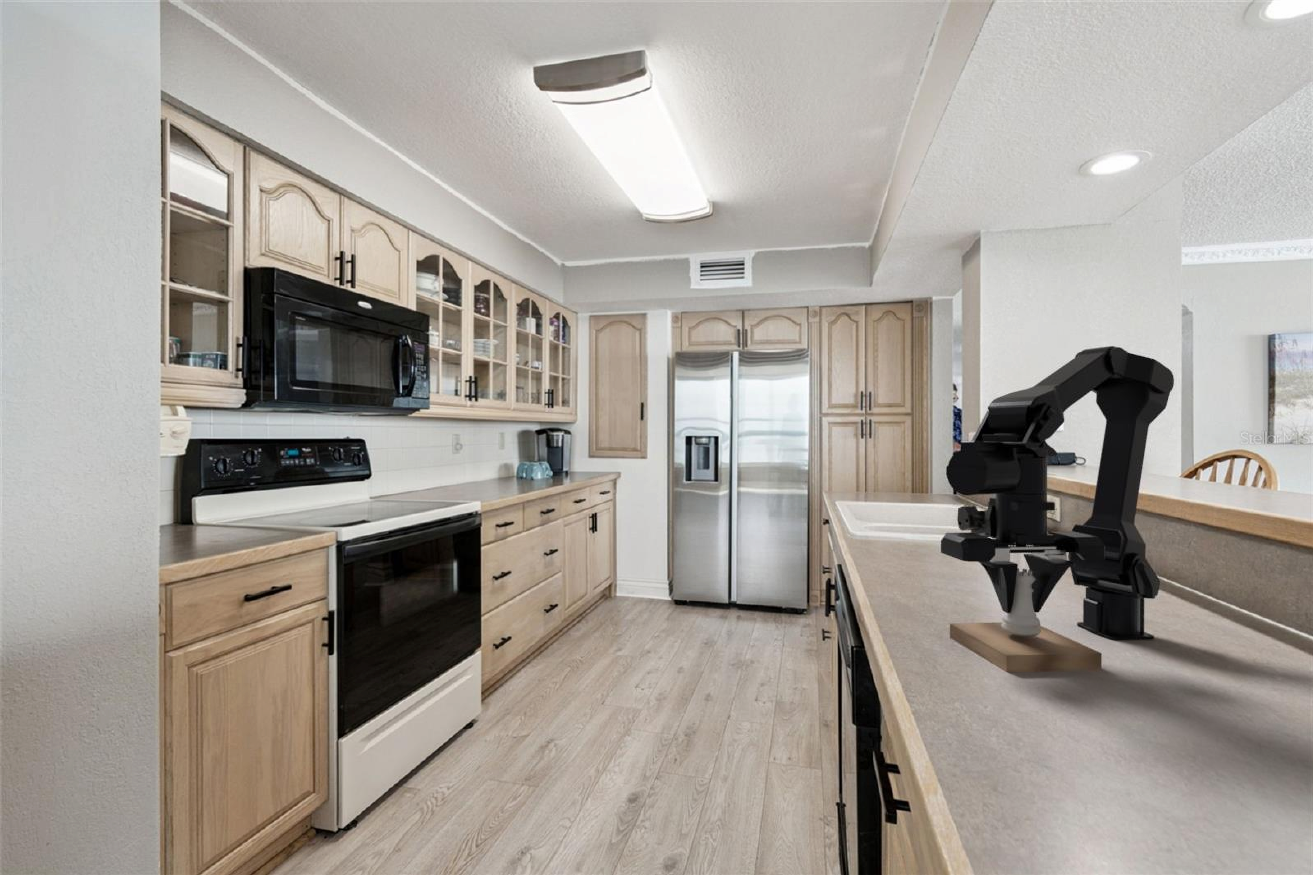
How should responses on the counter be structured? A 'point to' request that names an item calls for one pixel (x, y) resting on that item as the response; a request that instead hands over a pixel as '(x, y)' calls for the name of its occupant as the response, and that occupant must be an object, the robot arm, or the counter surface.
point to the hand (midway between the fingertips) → (1020, 612)
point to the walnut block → (1025, 648)
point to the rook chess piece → (1022, 608)
